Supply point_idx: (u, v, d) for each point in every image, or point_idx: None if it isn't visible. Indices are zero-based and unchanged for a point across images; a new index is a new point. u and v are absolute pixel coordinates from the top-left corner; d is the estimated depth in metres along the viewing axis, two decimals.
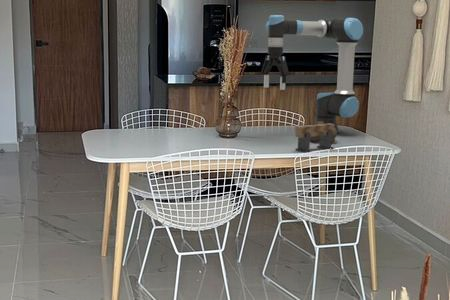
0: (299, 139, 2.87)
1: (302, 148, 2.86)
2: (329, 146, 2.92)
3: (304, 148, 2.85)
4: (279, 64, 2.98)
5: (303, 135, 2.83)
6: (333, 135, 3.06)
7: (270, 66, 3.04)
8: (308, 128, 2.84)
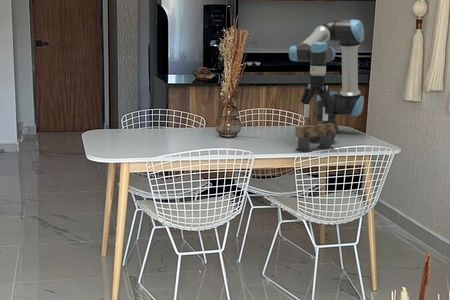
0: (299, 139, 2.87)
1: (302, 148, 2.86)
2: (329, 146, 2.92)
3: (304, 148, 2.85)
4: (322, 94, 2.82)
5: (303, 135, 2.83)
6: (332, 135, 3.06)
7: (311, 95, 2.89)
8: (308, 128, 2.84)
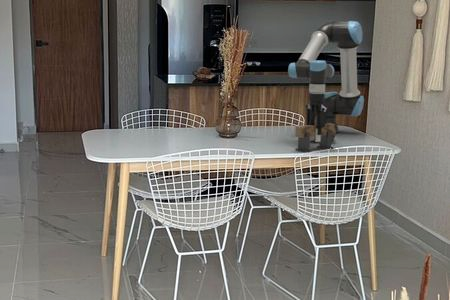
0: (299, 139, 2.87)
1: (302, 148, 2.86)
2: (329, 146, 2.92)
3: (304, 148, 2.85)
4: (319, 113, 2.85)
5: (303, 135, 2.83)
6: (332, 135, 3.06)
7: (313, 115, 2.89)
8: (308, 128, 2.84)
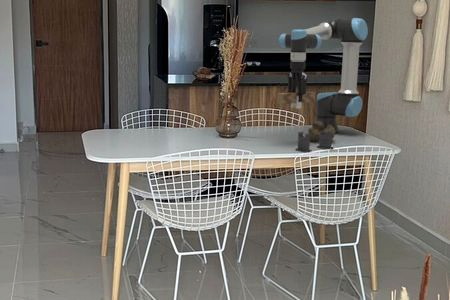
0: (299, 139, 2.87)
1: (302, 148, 2.86)
2: (329, 146, 2.92)
3: (304, 148, 2.85)
4: (299, 81, 2.95)
5: (284, 102, 2.93)
6: None
7: (295, 82, 2.99)
8: (289, 95, 2.94)
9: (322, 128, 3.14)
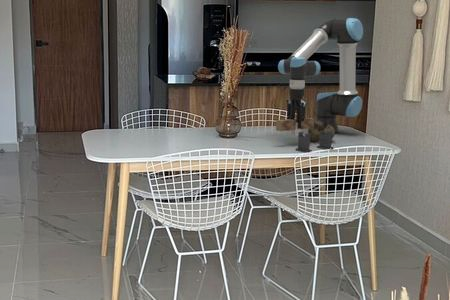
0: (299, 139, 2.87)
1: (302, 148, 2.86)
2: (329, 146, 2.92)
3: (304, 148, 2.85)
4: (298, 108, 2.97)
5: (283, 129, 2.95)
6: None
7: (294, 109, 3.01)
8: (288, 122, 2.96)
9: (322, 128, 3.14)
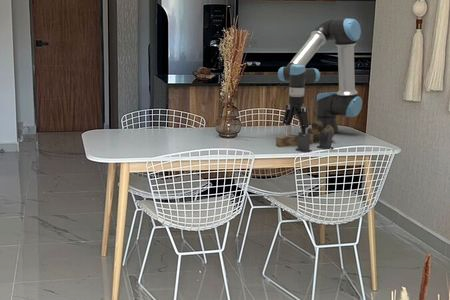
0: (299, 139, 2.87)
1: (302, 148, 2.86)
2: (329, 146, 2.92)
3: (304, 148, 2.85)
4: (300, 115, 2.97)
5: (283, 145, 2.97)
6: None
7: (292, 115, 3.03)
8: (288, 138, 2.98)
9: (321, 128, 3.14)
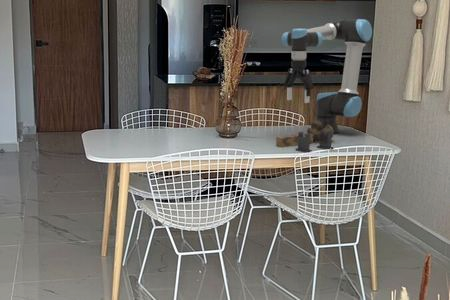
0: (299, 139, 2.87)
1: (302, 148, 2.86)
2: (329, 146, 2.92)
3: (304, 148, 2.85)
4: (303, 77, 2.99)
5: (283, 145, 2.97)
6: None
7: (293, 79, 3.05)
8: (288, 138, 2.98)
9: (321, 128, 3.15)
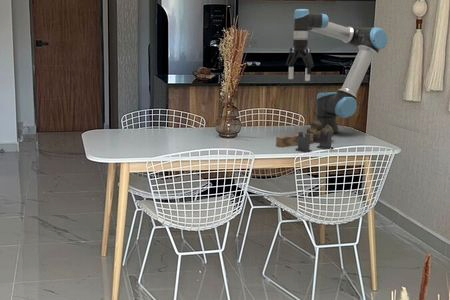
0: (299, 139, 2.87)
1: (302, 148, 2.86)
2: (329, 146, 2.92)
3: (304, 148, 2.85)
4: (304, 56, 3.10)
5: (283, 145, 2.97)
6: None
7: (295, 58, 3.17)
8: (288, 138, 2.98)
9: (320, 128, 3.15)
